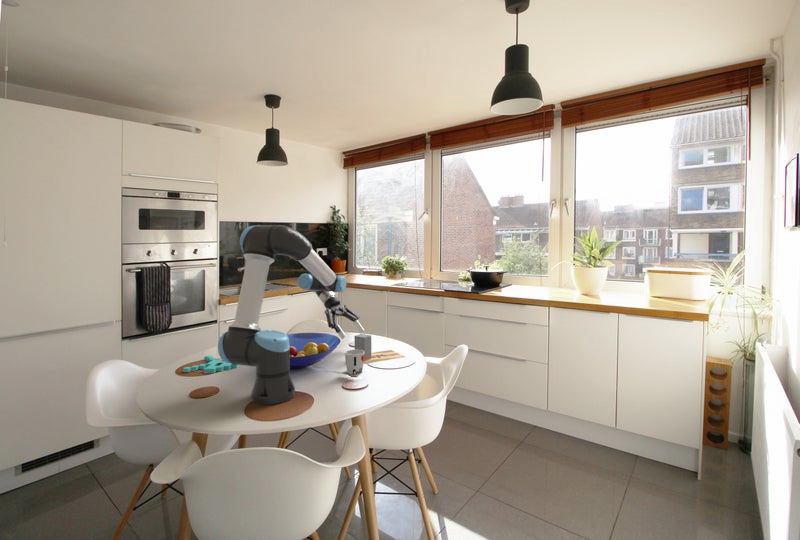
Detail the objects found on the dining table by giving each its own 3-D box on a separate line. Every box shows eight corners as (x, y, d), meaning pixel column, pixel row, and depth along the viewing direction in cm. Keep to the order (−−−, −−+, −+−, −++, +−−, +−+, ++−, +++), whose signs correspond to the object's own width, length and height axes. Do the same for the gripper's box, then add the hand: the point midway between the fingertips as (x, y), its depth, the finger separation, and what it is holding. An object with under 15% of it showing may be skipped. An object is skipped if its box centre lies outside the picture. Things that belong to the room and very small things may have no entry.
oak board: (405, 359, 192) (405, 356, 192) (359, 367, 180) (359, 364, 180) (391, 352, 204) (391, 349, 204) (347, 359, 192) (347, 356, 192)
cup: (352, 380, 164) (352, 356, 163) (341, 375, 170) (341, 351, 169) (368, 375, 169) (368, 352, 169) (357, 371, 176) (357, 348, 175)
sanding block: (371, 358, 189) (371, 335, 188) (364, 361, 184) (364, 337, 184) (361, 356, 192) (361, 333, 191) (354, 359, 188) (354, 335, 187)
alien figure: (183, 373, 172) (229, 374, 172) (183, 368, 172) (229, 369, 172) (206, 359, 192) (248, 360, 192) (206, 355, 192) (248, 355, 192)
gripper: (342, 301, 211) (365, 334, 204) (307, 308, 190) (331, 344, 183) (350, 292, 208) (373, 325, 201) (315, 298, 187) (339, 335, 180)
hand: (353, 334), depth 192 cm, fingers open, 13 cm apart
